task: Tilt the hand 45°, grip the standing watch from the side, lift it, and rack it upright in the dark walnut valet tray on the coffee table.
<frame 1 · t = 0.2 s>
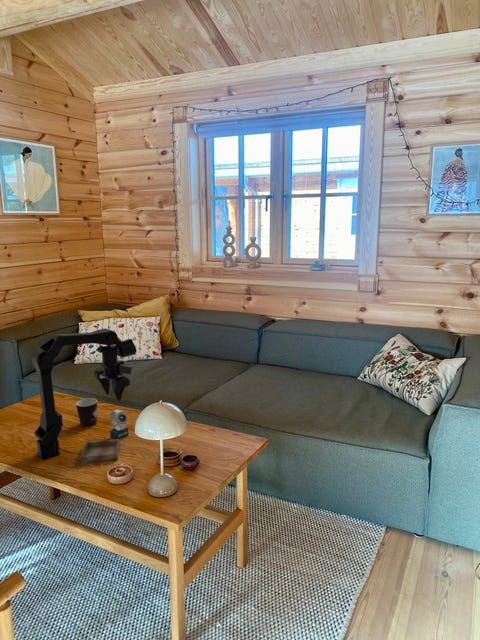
hand: (113, 397, 188), 15 cm above the table, fingers open, 9 cm apart
valet tray: (101, 454, 172), on the table
coffee mug: (91, 423, 199), on the table
watch: (119, 437, 186), on the table
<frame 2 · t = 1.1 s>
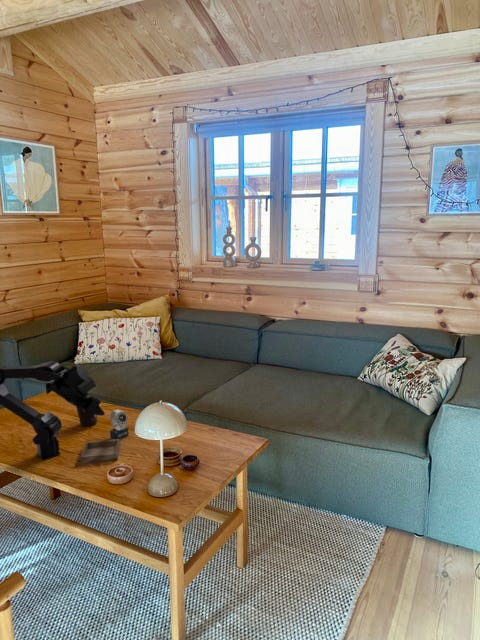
hand: (97, 410, 178), 13 cm above the table, fingers open, 9 cm apart
nothing on the table moved.
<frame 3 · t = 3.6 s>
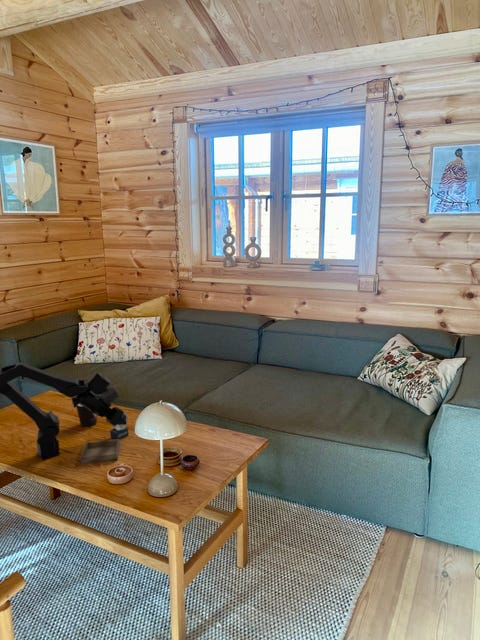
hand: (120, 420, 185), 7 cm above the table, fingers closed on watch, 8 cm apart
watch: (119, 437, 186), on the table, touching gripper
everything else where it was.
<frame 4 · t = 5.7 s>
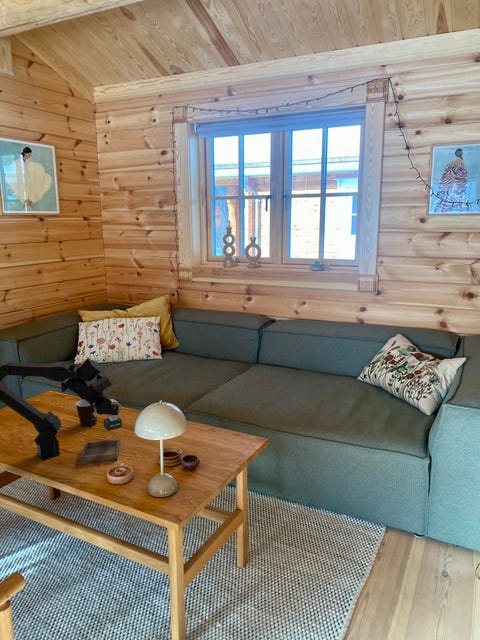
hand: (114, 410, 178), 13 cm above the table, fingers closed on watch, 8 cm apart
watch: (113, 427, 179), point 6 cm above the table, touching gripper
everything else where it was.
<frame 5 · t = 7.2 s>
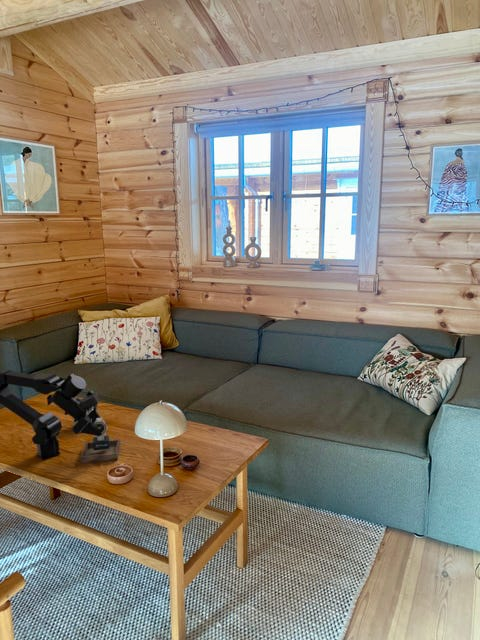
hand: (102, 430, 170), 9 cm above the table, fingers closed on watch, 8 cm apart
watch: (101, 447, 172), point 3 cm above the table, touching gripper
everything else where it was.
when the fingers open (9 cm above the table, at t = 8.1 s): watch drops 1 cm, resting on valet tray.
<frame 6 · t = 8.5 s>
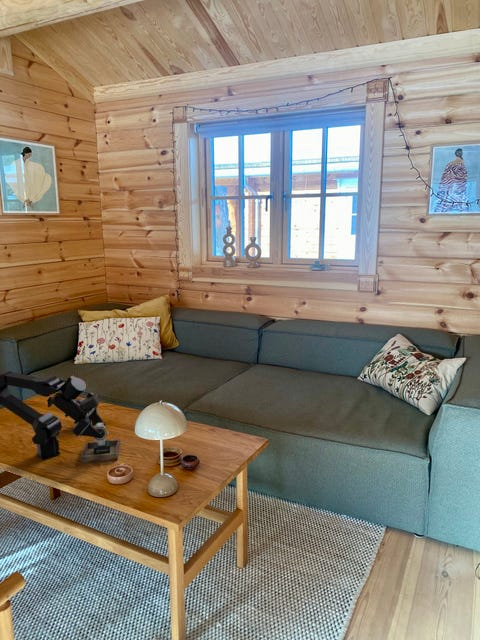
hand: (103, 431, 171), 9 cm above the table, fingers open, 9 cm apart
watch: (102, 452, 172), point 1 cm above the table, touching valet tray
everything else where it was.
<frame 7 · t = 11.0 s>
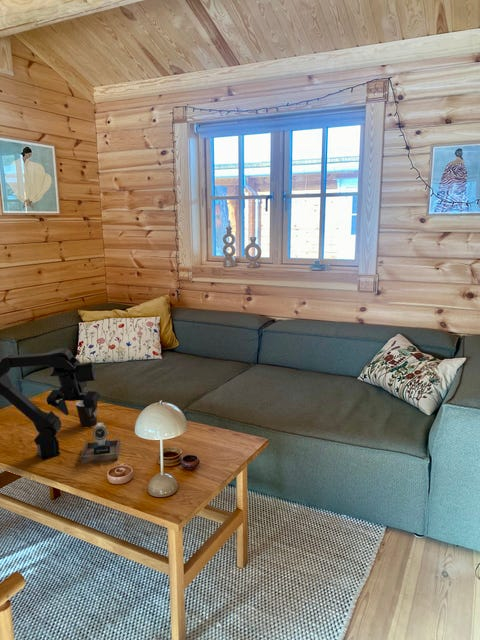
hand: (78, 415, 176), 12 cm above the table, fingers open, 9 cm apart
nothing on the table moved.
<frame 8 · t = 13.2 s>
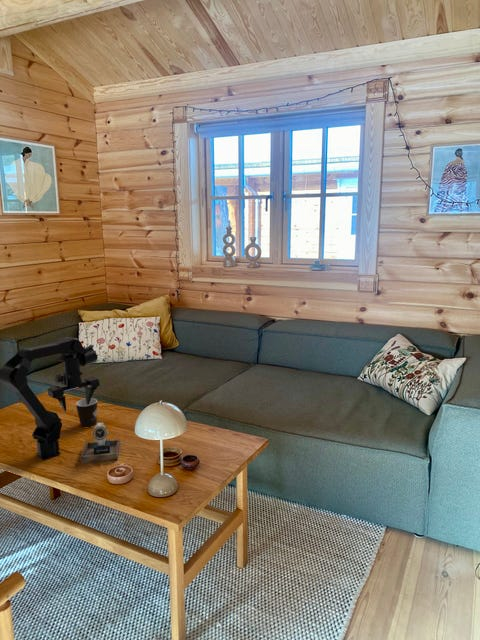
hand: (76, 407, 182), 13 cm above the table, fingers open, 9 cm apart
nothing on the table moved.
at the end: watch inside the target area on the valet tray (0.4 cm from its centre), point 0.6 cm above the valet tray's base; watch tilted 0°; the gripper is holding nothing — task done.
